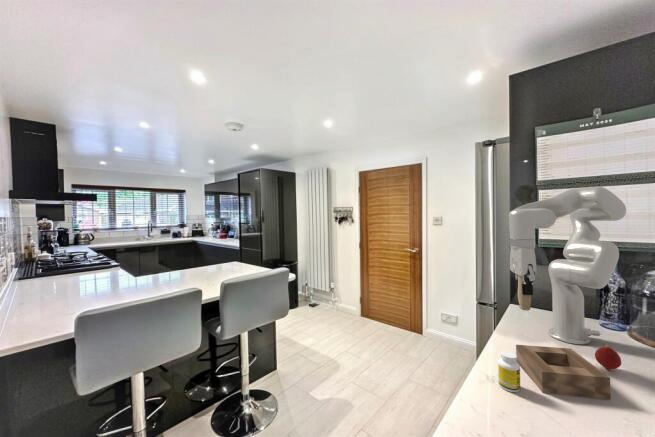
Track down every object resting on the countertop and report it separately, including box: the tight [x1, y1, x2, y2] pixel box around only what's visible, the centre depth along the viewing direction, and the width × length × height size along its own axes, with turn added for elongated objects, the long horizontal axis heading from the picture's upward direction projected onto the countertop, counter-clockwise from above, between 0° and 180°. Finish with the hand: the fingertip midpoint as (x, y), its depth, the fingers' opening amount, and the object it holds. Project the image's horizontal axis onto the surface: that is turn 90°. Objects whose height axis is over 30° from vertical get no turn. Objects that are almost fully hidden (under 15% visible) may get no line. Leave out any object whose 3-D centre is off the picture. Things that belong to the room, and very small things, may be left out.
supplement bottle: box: [497, 350, 521, 393], centre depth 78 cm, size 5×5×10 cm
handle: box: [512, 268, 532, 311], centre depth 97 cm, size 5×6×15 cm
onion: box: [594, 344, 622, 371], centre depth 85 cm, size 6×6×8 cm
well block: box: [515, 344, 612, 401], centre depth 81 cm, size 16×16×6 cm
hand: (524, 292), depth 97 cm, fingers closed on handle, 3 cm apart
